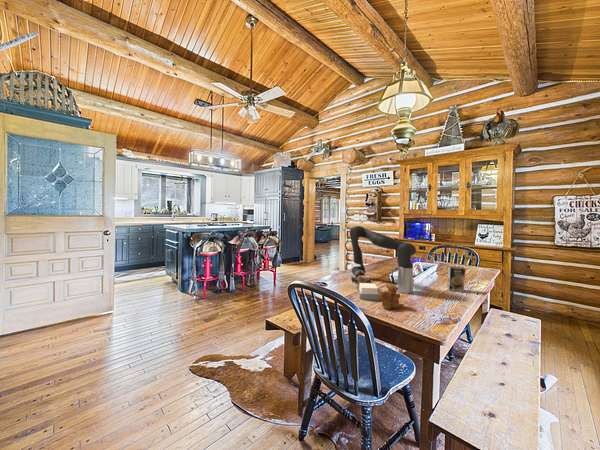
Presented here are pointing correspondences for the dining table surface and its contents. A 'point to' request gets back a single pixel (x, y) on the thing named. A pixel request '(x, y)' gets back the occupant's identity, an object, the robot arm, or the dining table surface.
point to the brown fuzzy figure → (390, 297)
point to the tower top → (368, 288)
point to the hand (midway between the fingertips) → (362, 283)
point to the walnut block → (361, 280)
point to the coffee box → (456, 279)
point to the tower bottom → (368, 296)
